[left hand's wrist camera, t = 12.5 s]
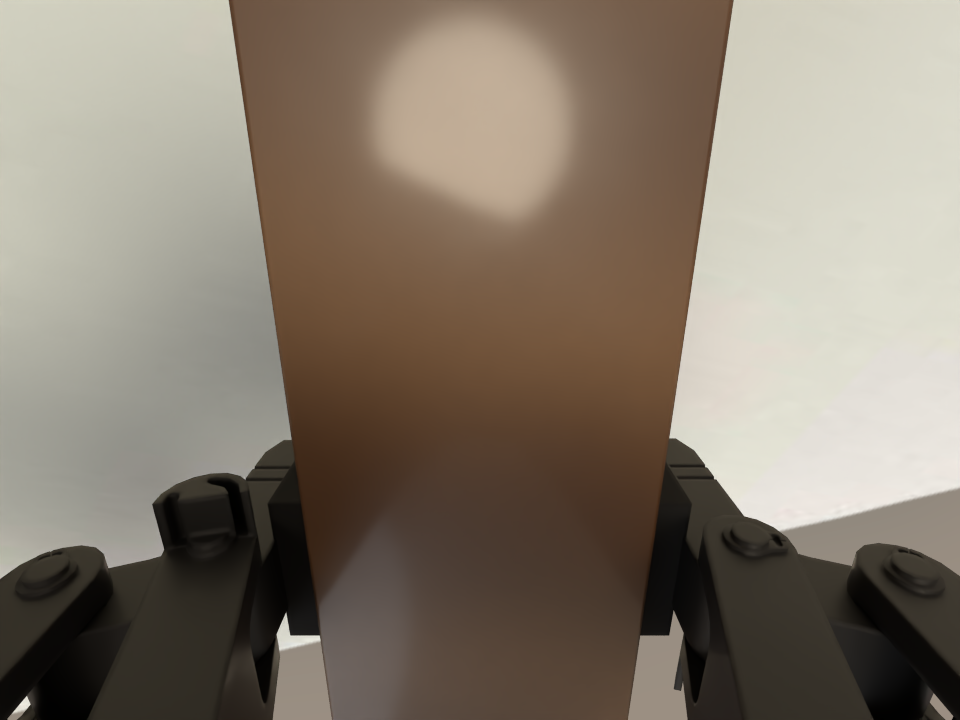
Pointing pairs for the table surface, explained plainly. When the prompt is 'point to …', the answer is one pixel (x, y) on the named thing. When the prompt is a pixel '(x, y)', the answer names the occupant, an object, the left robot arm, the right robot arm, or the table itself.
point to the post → (480, 328)
